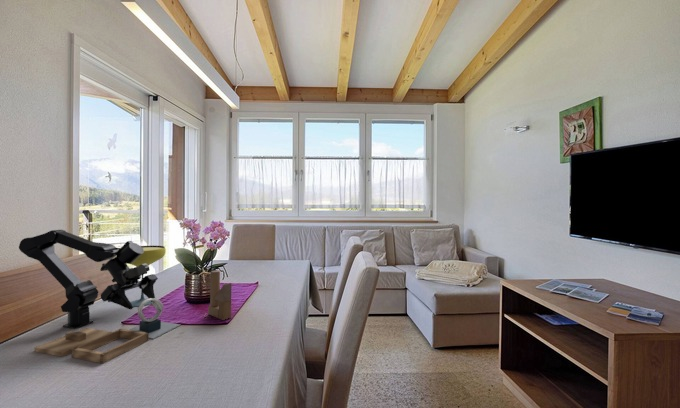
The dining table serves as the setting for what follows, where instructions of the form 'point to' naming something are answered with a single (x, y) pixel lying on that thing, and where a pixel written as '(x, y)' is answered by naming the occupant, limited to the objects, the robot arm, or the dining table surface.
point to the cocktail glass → (148, 257)
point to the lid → (70, 341)
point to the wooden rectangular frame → (102, 357)
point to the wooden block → (219, 297)
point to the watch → (152, 322)
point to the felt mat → (164, 329)
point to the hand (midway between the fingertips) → (143, 304)
